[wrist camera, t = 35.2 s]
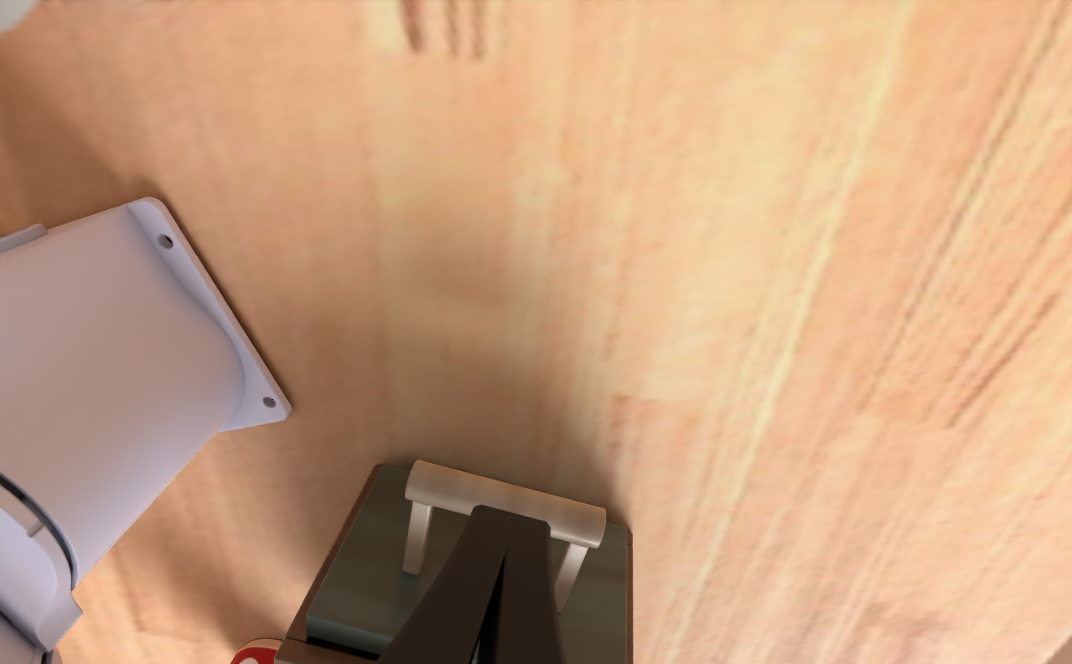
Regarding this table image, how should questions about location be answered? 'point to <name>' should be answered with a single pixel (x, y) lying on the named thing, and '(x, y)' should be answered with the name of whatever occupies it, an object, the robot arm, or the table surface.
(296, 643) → the cabinet
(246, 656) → the soda can
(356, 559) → the drawer
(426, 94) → the table surface
